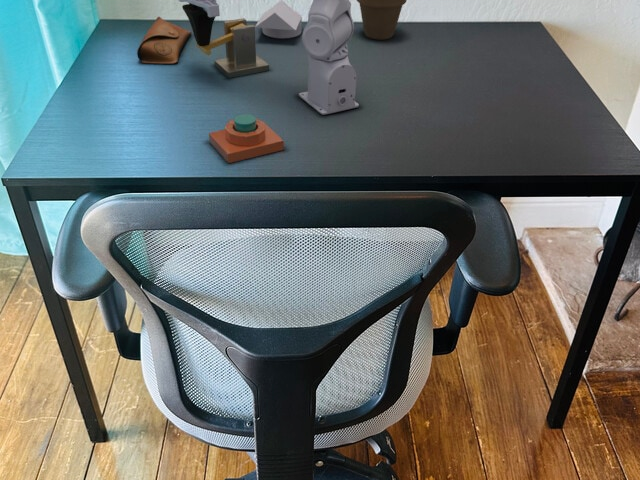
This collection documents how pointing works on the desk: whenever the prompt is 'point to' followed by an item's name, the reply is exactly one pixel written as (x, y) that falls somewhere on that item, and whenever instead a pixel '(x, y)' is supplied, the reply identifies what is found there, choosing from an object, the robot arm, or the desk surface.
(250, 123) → the button
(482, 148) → the desk surface
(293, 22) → the wedge on round base
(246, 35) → the bracket
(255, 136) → the button block
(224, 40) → the tap lever
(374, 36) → the flower pot
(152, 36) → the sunglasses case
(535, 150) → the desk surface
